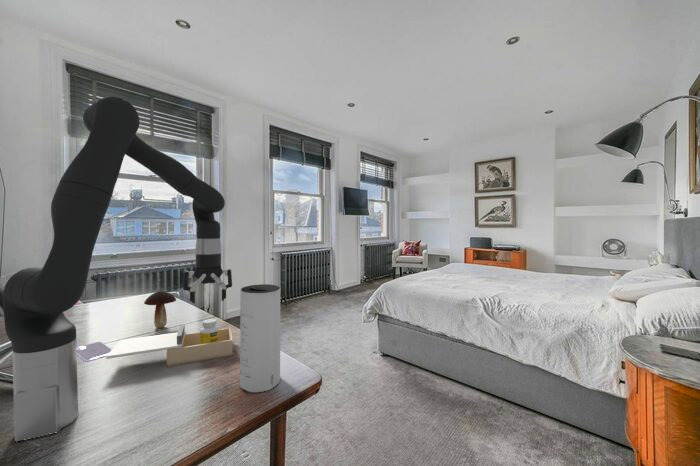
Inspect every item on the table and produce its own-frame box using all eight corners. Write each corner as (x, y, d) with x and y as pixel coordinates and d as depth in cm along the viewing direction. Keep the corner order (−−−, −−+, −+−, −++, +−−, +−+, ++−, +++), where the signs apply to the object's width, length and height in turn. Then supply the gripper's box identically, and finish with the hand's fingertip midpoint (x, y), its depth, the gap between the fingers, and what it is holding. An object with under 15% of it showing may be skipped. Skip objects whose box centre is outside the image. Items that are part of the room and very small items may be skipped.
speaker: (288, 383, 77) (288, 286, 76) (250, 399, 70) (250, 292, 69) (268, 368, 85) (268, 280, 84) (233, 381, 78) (232, 285, 77)
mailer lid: (181, 347, 87) (181, 336, 87) (106, 358, 79) (106, 347, 79) (185, 333, 98) (185, 323, 97) (119, 342, 90) (119, 331, 90)
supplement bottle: (211, 354, 92) (211, 324, 92) (196, 352, 93) (196, 322, 93) (222, 347, 97) (221, 318, 97) (208, 345, 99) (207, 317, 98)
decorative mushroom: (143, 327, 117) (142, 290, 117) (174, 321, 124) (173, 286, 124) (145, 335, 109) (144, 295, 108) (178, 328, 116) (178, 291, 115)
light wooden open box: (232, 355, 93) (232, 340, 93) (166, 366, 85) (166, 350, 85) (230, 341, 104) (230, 327, 104) (172, 350, 96) (172, 335, 96)
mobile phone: (85, 360, 88) (71, 348, 96) (85, 363, 88) (71, 351, 96) (116, 351, 94) (100, 340, 102) (116, 354, 94) (100, 343, 102)
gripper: (182, 254, 88) (182, 306, 88) (232, 252, 94) (232, 302, 94) (184, 252, 95) (184, 301, 95) (231, 250, 101) (231, 297, 101)
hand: (208, 301), depth 95 cm, fingers open, 8 cm apart
